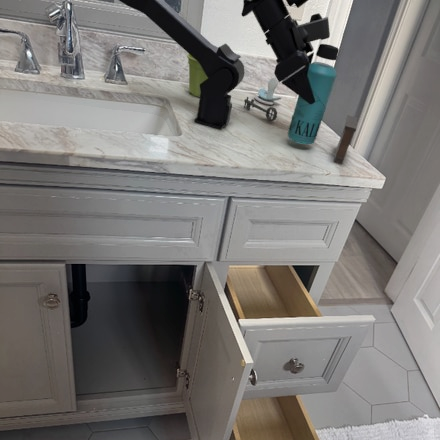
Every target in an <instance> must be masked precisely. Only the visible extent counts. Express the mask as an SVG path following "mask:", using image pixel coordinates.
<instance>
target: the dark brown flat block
mask: <svg viewBox="0 0 440 440" xmlns="http://www.w3.org/2000/svg"><path fill="white" fill-rule="evenodd" d="M357 125H358V117H357V116H352V115H349V114H348V115H347V116H346V119H345V124H344V127H343V130H342V132H341V135H340V138H339V141H338V144H337V146H336V149H335V153H334V159H333V163H335V164H339V165H342V164H343V162H344V160H345V157H346V154H347V151H348V149H349V147H350V144H351V141H352V138H353V136H354V133H356V131H357Z"/></svg>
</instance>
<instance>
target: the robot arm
mask: <svg viewBox="0 0 440 440" xmlns="http://www.w3.org/2000/svg"><path fill="white" fill-rule="evenodd" d="M118 1H119V2H120V3H122V4H124V5H125V6H127V7H129V8H131V9H133V10H136V11H138V12H139V13H142V14H143V15H145V16H146V17H147V18H148V19H149V20H150V21H152V22H153V23H154V24H155V25H156V26H157V27H158V28H160V29H161V31H163V32H164V33H165V34H166V35H167V36H168V37H169V38H171V39H172V40H173V41H174V42H175V43H176V44H177V45H178V46H179V47H180V48H182V49H183V50H184V51H185V52H186V53H187V54H190V55H191V56H192V57H193V58H194V59H196V60H197V61H198V62H199V64H200V65H201V67H202V69H203V71H204V72H205V74H206V76H207V77H208V79H206V80H205V81H204V82H202V83H201V84H200V91H201V93H200V97H199V101H198V107H197V115H196V117H195V118H194V119H193V122H195V123H198V124H201V125H205V126H209V127H211V128H215V129H217V130H222V129H223V128H224V127H225V126H226V125H228V124H229V122H230V119H231V114H232V108H233V104H232V103H231V102H232V101H231V100H232V95H231V94H229V93H231V92H232V91H234V90H235V89H236V88H237V87H238V86H239V85H240V83H242V81H243V79H244V78H245V73H246V72H245V65H244V63H243V62H242V60H241V59H240V58H241V57H242V56H241V54H240V55H239V54H237V53H235V52H234V51H233V50H232V48H231V47H230V45H228V44H227V43H224V44H222V45H220V46H216V45H214V44H213V43H211V42H210V41H209V40H208V39H207V38H206V37H204V36H203V35H202V34H201V33H200V32H199V31H198V30H197V28H195V27H193V26H192V25H191V24H190V23H189V22H188V21H187V20H186V19H185V17H182V15H180V14H179V13H178V12H177V11H176V10H175V9H174V8H173V7H172V6H171V5H169V4H168V3H167V2H166V1H165V0H118ZM308 1H309V0H285V1H284V0H243V1H242V2H243V3H242V4H243V6H242V11H241V17H244V18H245V17H246V16H248V15H250V14H251V13H252V14H253V16H254V18H255V19H256V21H257V23H258V25H259V27H260V28H261V31H262V32H263V34H264V37H265V38H266V39H265V42H266V44H267V46H269V47H270V48H271V50H272V52H273V53H274V56H275V57H276V60H275V62H276V63H277V64H276V65H275V68H274V73H273V74H274V76H275V78H276V79H277V81H278V83H280V82H281V84H282V85H283V86H285V87H286V88H287V89H289V90H291V91H292V92H293V93H295V94H296V95H297V96H298V95H299V96H300V97H301V98H303V99H304V100H305V101H306V102H308V103H309V104H310V105H311V104H313V103H315V98H314V94H313V91H312V88H311V85H310V81H309V78H308V70H309V66H310V64H311V63H313V62H312V61H313V59H314V55H315V52H314V46H313V45H312V42H315V41H318V40H319V41H320V40H321V41H323V40H327V39H329V38H330V36H331V32H330V23H329V16H325V17H323V16H322V15H321V14H320V12H318V13H314V14H312V15H310V16H311V17H310V19H309V21H308V22H305V23H302V24H299V23H298V21H297V19H294V18H292V16H291V14H290V12H289V10H288V7H287V5H288V6H289V7H292V6H293V5H294V6H295V7H296V8H297V9H299V8H300V7H302V6H303V5H304V4H306V3H307V2H308ZM285 2H286V3H287V5H286V4H285ZM309 53H310V54H309Z"/></svg>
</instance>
